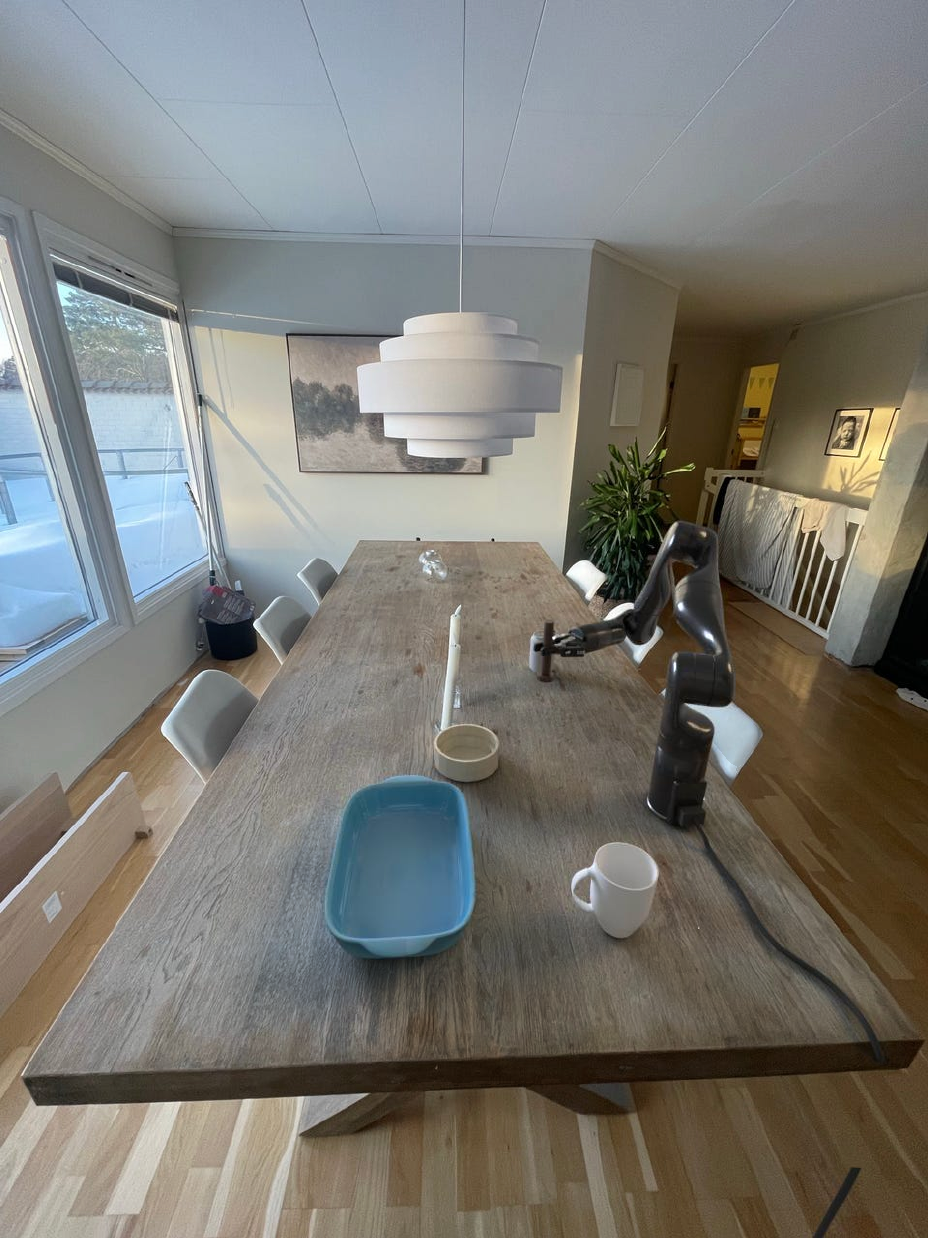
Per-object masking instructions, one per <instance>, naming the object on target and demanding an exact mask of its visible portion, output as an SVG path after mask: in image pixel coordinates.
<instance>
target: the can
mask: <svg viewBox="0 0 928 1238" xmlns="http://www.w3.org/2000/svg"><path fill="white" fill-rule="evenodd" d="M543 635H544V630H536V631H534V632H533V633H532V635H531V637H530V646H529V662H528V668H529V669H530V670H531V671H532V672H533V673H535V674H537V672H538V671H540V670H541V665H542V656H541V651H538V652H535V651H534V650H533V647H534V644H535V643H538V642H542V641H543ZM555 657H556V655H555V654H552V658H551V671H552V672H553V671H554V669H555V659H556V658H555Z"/></svg>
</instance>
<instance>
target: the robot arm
mask: <svg viewBox="0 0 928 1238" xmlns="http://www.w3.org/2000/svg"><path fill="white" fill-rule="evenodd" d="M671 560H673V561H675V562H679V563H682V564H686V565H690V566H693V568H695V569H693V570H692V571H691V572H689V573H687V574H686V575H685V576H683V577H682V578H681V579H680V580H679V581H678V582H677V584H676V585H675V587H674V588H673V589H674V590H673V593H672V588H671V582H670V577H669V564H670V562H671ZM671 593H672V594H673V595H672V602H673V603H672V604H673V605H672V606H673V616H674V619H675V621H676V623H677V624H678V625H679V627H680V628H681V629H682V630H683V631H684V632H685V634H686V635H687V636H688V637H689V638H690V639H691V640H692V641H693V642H694V643H695V644H696V645H697V646H698V647H699V648H700V649H701V651H702V653H700V652H692V651H684V650H677V651H675V652H674V653H672V655H671V656H670V658H669V661H668V665H667V671H666V681H665V690H664V700H663V705H662V713H661V717H660V718H661V719H660V724H659V730H658V735H657V740H656V746H655V753H654V759H653V765H652V770H651V776H650V782H649V788H648V794H647V797H646V805H647V808H648V810H649V811H650V812H651V813H652V814H653V815H654V816H656V817H658V818H659V819H660V820H663V821H664V822H666V823H667V824H668V826H675V825H680V827H681V828H683V827H684V828H685V827H692V826H695V828H696V831H697V832H698V833H699V834H700V837H701V840H702V842H703V844H704V848H705V849H706V852H707V853H708V855H709V856H710V858H711V859H712V861H713V863H714V864H715V865H716V867H717V868H718V869H719V870H720V872H721V873H722V874H723V875H724V876H725V878H726V879H727V881H728V882H729V884H731V885H732V887H733V888H734V890H735V891H736V893H737V894H738V896H739V897H740V899H741V901H742V903H743V904H744V907H745V908H746V910H747V912H748V915H749V917H750V918H751V919H752V922H753V923H754V924H755V926H756V927H757V929H758V930H759V931H760V933H761V934H762V935H763V937H764V938H765V939H766V940H767V941H768V942H769V943H770V944H771V945H772V946H773V947H774V948H775V949H776V950H778V952H780V953H781V954H782V955H783V956H785V957H786V958H788V959H789V960H790V961H792V962H793V963H795V964H796V965H798V966H800V967H801V968H803V969H804V970H806V971H807V972H808V973H810V974H811V975H813V976H814V977H815V978H817V979H818V980H820V981H821V982H822V983H823V984H825V986H827V987H828V988H829V989H830V990H832V992H833V993H834V994H835V995H837V997H838V998H839V999H840V1000H841V1001H842V1002H843V1003H844V1004H845V1005H846V1006H847V1008H848V1009H850V1011H851V1012H852V1013H853V1014H854V1016H855V1017H856V1018H857V1019H858V1021H859V1022H860V1024H861V1026H862V1027H863V1029H864V1032H865V1034H866V1035H867V1037H868V1040H869V1041H870V1044H871V1047H872V1049H873V1052H874V1053H875V1054H874V1055H875V1057H876V1059H877V1061H878V1062H880V1063H882V1064H885V1063H886V1059H885V1058H886V1057H885V1055H884V1052H883V1049H882V1047H881V1044H880V1041H879V1039H878V1037H877V1035H876V1033H875V1031H874V1029H873V1027H872V1026H871V1024H870V1023H869V1021H868V1020H867V1018H866V1016H865V1015H864V1014H863V1012H862V1011H861V1009H859V1008H858V1007H857V1005H856V1004H855V1003H854V1002H853V1001H852V1000H851V999H850V998H849V997H848V996H847V995H846V993H844V991H843V990H841V988H840V987H838V985H837V984H836V983H834V982H833V981H832V980H831V979H830V978H829V977H827V975H825V974H824V973H822V972H821V971H819V970H818V969H817V968H815V967H813V966H812V965H810V964H809V963H808V962H806V961H804V960H803V959H801V958H800V957H799V956H797V955H795V954H794V953H792V952H791V951H790V950H788V949H787V948H785V947H784V946H783V945H782V944H781V943H779V942H778V941H777V940H776V938H774V936H772V934H771V933H770V932H769V931H768V930H767V929H766V927H765V926H764V924H762V922H761V921H760V919H759V917H758V916H757V914H756V912H755V910H754V908H753V907H752V905H751V903H750V901H749V899H748V897H747V896H746V894H745V892H744V891H743V889H742V888H741V886H740V885H739V883H738V882H737V881H736V879H734V876H733V875H731V874H730V872H729V871H728V870H727V869H726V868H725V866H724V865H723V863H721V861H720V860H719V858H718V857H717V856H716V854H715V852H714V851H713V849H712V846H711V845H710V841H709V839H708V836H707V835H706V832H705V831H704V829H703V827H702V826H701V825H704V824H705V819H706V815H707V811H706V810H705V809H704V808H703V804H704V801H705V795H706V790H707V786H708V781H707V780H706V774H707V769H708V764H709V760H710V755H711V752H712V751H711V750H712V746H713V741H714V737H715V732H716V731H715V730H716V729H715V725H714V723H713V721H712V720H711V719H710V718H709V717H708V716H706V715H705V714H704V713H702V712H700V711H698V710H696V709H693V708H692V707H690V706H689V705H693V706H701V707H708V708H719V709H720V708H726V707H728V706H729V705H730V704H731V703H732V702H733V700H734V698H735V694H736V687H737V686H736V683H737V682H736V672H735V666H734V661H733V657H732V653H731V650H730V649H731V648H730V645H729V642H728V638H727V632H726V625H725V614H724V602H723V601H724V600H723V594H722V590H721V583H720V574H719V537H718V534H717V533H716V531H715V530H713V529H712V528H710V527H707V526H704V525H700V524H696V523H693V522H689V521H685V520H676V521H675V522H673V523H672V524H671V526H670V527H669V529H668V530H667V532H666V533H665V535H664V538H663V540H662V543H661V544H660V547H659V549H658V551H657V554H656V557H655V560H654V562H653V564H652V567H651V570H650V572H649V575H648V577H647V580H646V582H645V584H644V586H643V588H642V589H641V591H640V592H639V595H638V596H637V598H636V600H635V601H634V603H633V608H628V609H626V610H624V611H622V612H621V613H619V614H618V615H616V616H615V617H613V618H611V619H607V620H603V621H594V622H589V623H585V624H581V625H576V626H575V625H574V626H572V628H571V629H570V630H569V631H568V632H563V633H556V630H554V631H553V644H552V645H551V646H546V647H543V641H542V642H538V643H535V644H534V647H533V650H534V651H535V652H538V651H541V656H548V655H552V654H555V656H559V655H560V657H561V658H584V657H585V655H586V654H590V653H593V652H598V651H601V650H604V649H605V648H607V647H608V648H609V647H614V646H617V645H620V644H622V643H624V641H625V640H626V638H627V639H628V640H629V641H630V643H631V644H633V645H634V646H643V645H646V644H647V643H649V642H650V641H651V640H652V639H653V637H654V635H655V633H656V630H657V626H658V621H659V618H660V615H661V613H662V611H663V610H664V608H665V607H666V606H667V604H668V602H669V600H670V597H671ZM687 704H688V705H687ZM861 1170H862V1167H857V1166H856V1167H853V1166H850V1169H849V1171H848V1172H847V1175H846V1176H845V1178H844V1180H843V1182H842V1184H841V1185H840V1187H839V1189H838V1191H837V1193H836V1194H835V1197H834V1198H833V1200H832V1202H831V1204H830V1205H829V1207H828V1209H827V1210H826V1212H825V1214H824V1216H823V1218H822V1220H821V1221H820V1223H819V1225H818V1227H817V1229H816V1231H815V1232H814V1234H813V1237H812V1238H824V1237H825V1235H826V1233H827V1231H828V1230H829V1228H830V1227H831V1225H832V1223H833V1221H834V1219H835V1218H836V1216H837V1215H838V1212H839V1210H840V1209H841V1207H842V1205H843V1204H844V1203H845V1200H846V1199H847V1197H848V1196H849V1194H850V1191H851V1190H852V1188H853V1186H854V1184H855V1182H856V1181H857V1178H858V1177H859V1175H860V1173H861Z"/></svg>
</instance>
